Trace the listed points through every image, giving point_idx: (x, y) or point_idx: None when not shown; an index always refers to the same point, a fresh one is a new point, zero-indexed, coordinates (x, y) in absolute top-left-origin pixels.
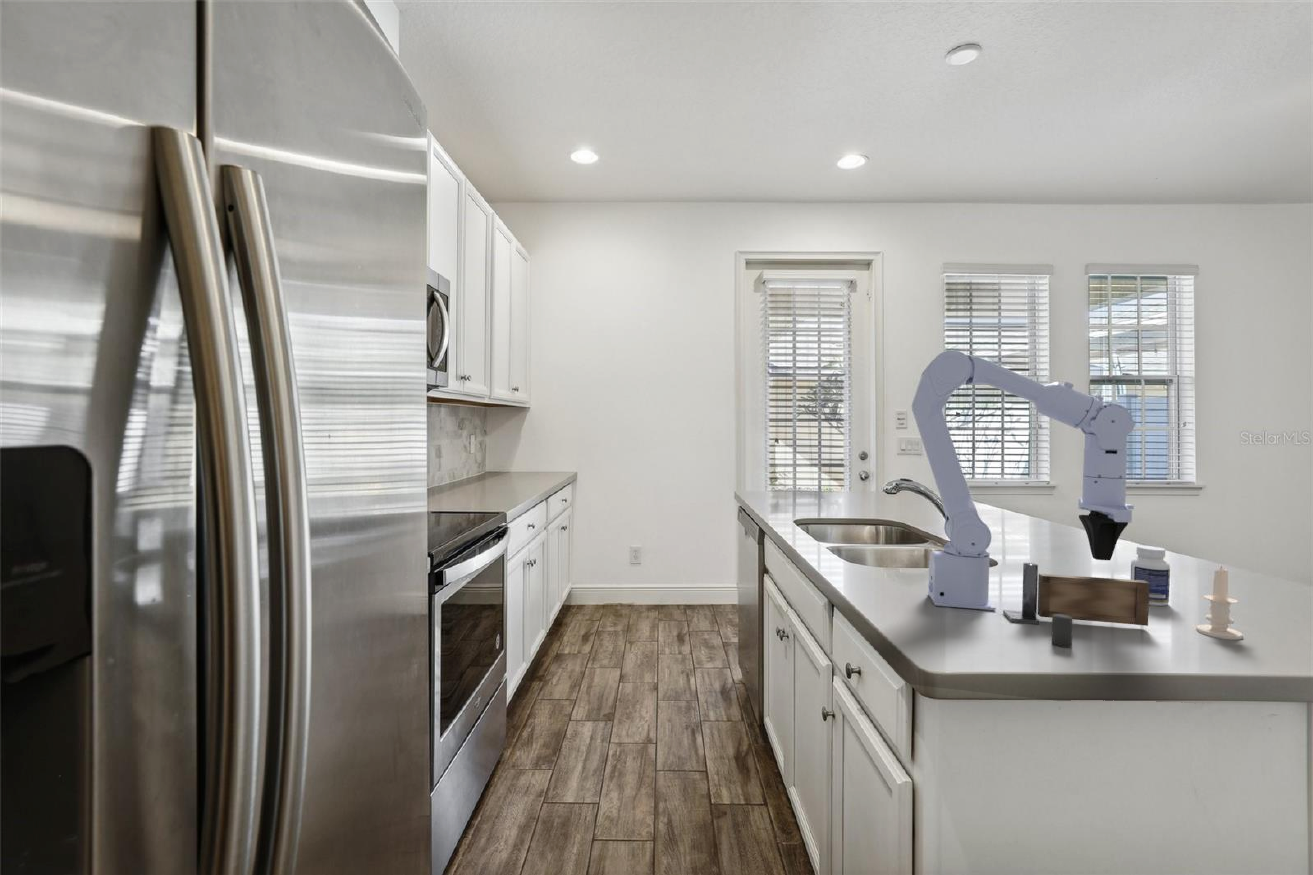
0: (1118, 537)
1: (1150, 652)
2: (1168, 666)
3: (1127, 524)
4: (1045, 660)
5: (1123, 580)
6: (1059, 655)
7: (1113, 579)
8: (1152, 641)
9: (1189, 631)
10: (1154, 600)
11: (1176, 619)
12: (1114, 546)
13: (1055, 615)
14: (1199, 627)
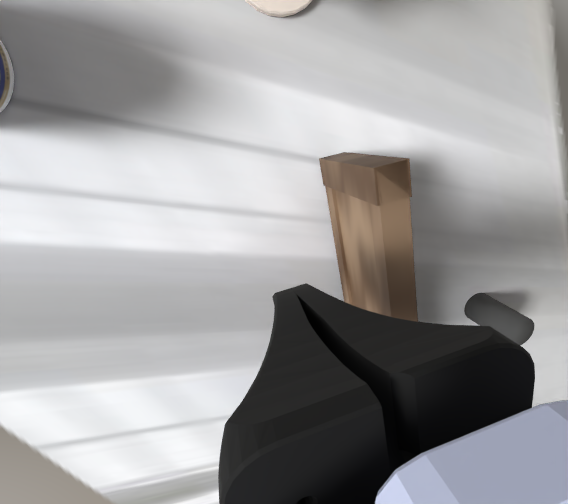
0: (384, 316)
1: (477, 177)
2: (536, 163)
3: (494, 329)
4: (543, 321)
5: (401, 234)
6: (522, 307)
7: (397, 261)
8: (411, 158)
9: (292, 42)
10: (2, 56)
11: (170, 37)
12: (342, 302)
13: (515, 342)
14: (276, 5)
